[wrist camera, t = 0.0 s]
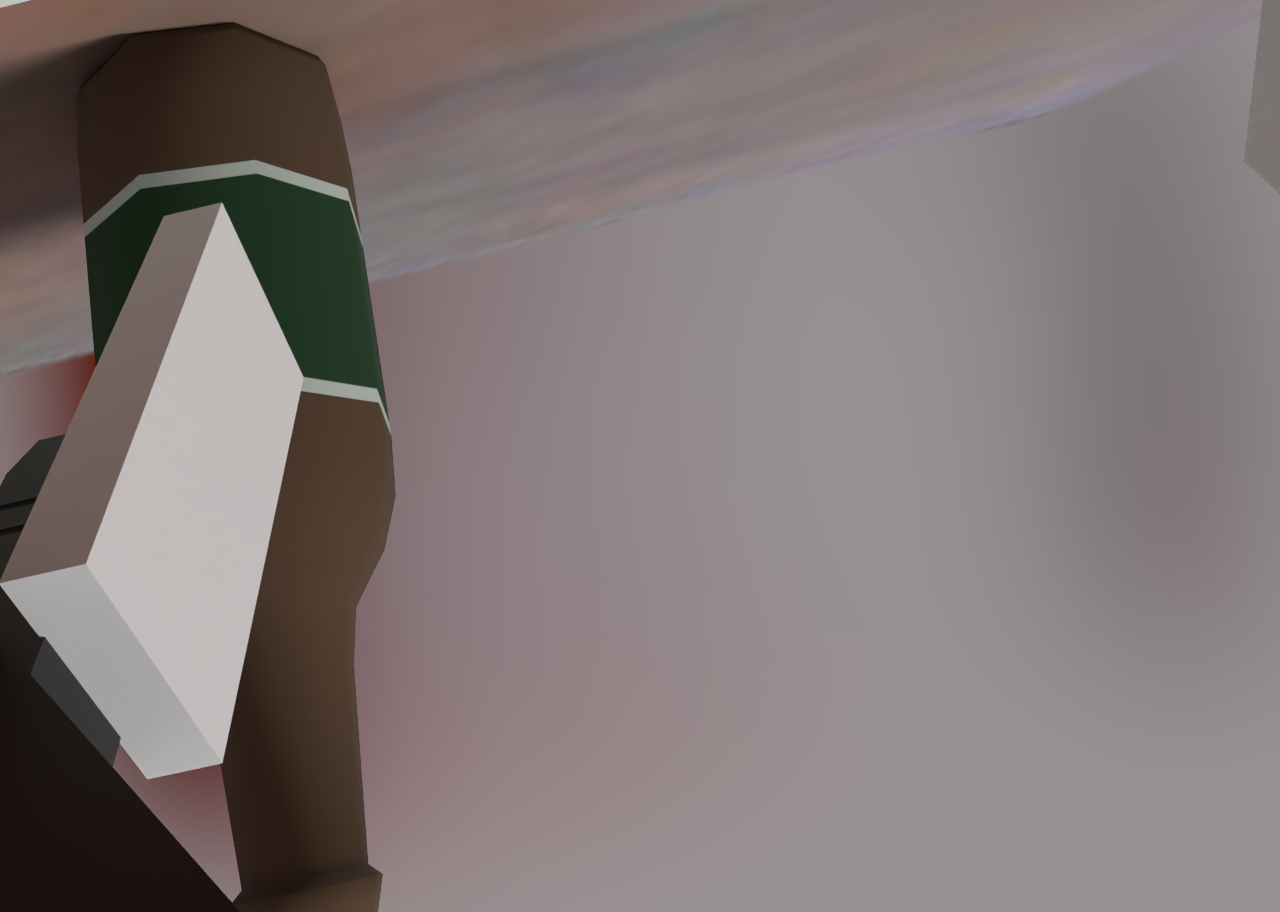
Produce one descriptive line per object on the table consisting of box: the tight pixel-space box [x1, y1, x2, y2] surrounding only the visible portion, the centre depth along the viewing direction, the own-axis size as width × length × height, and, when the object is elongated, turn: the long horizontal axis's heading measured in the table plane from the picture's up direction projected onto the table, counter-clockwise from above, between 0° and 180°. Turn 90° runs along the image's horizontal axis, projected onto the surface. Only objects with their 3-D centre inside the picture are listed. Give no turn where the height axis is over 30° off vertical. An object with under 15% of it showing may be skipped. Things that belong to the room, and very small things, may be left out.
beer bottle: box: [77, 23, 396, 912], centre depth 34 cm, size 8×8×24 cm
